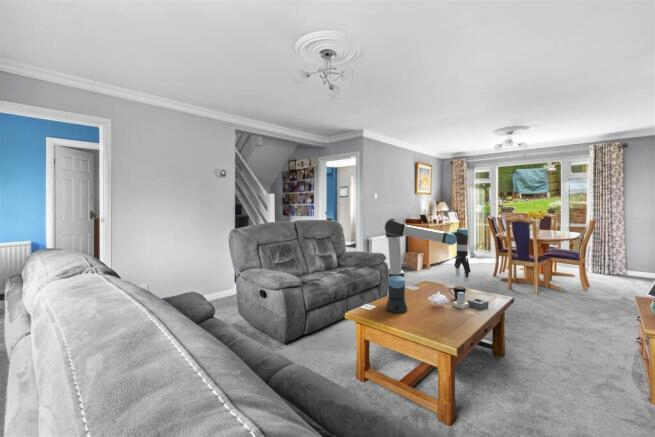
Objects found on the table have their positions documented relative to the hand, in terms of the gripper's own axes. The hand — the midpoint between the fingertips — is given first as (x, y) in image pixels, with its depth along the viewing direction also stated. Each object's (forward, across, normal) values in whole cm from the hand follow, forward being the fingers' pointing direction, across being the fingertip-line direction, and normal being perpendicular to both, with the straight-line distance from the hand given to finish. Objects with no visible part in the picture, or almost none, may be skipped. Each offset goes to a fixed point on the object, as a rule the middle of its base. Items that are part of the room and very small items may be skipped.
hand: (461, 279), depth 226 cm
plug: (+20, +1, 0) cm, 20 cm away
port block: (+21, 0, -12) cm, 24 cm away
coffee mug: (+21, +19, -6) cm, 29 cm away
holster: (+21, +1, 0) cm, 21 cm away
